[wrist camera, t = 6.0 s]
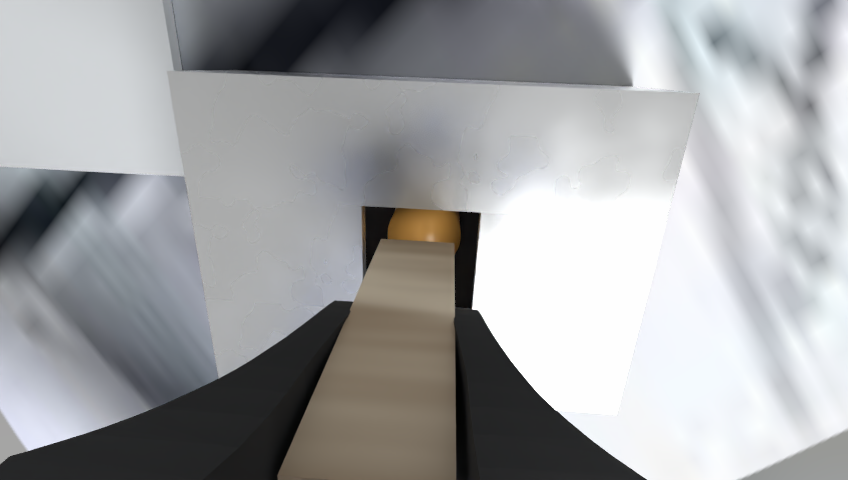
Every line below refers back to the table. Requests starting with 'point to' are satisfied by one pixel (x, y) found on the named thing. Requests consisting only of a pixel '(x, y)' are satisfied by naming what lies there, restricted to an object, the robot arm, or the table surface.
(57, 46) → the pad
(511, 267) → the guard box
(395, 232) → the button
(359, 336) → the long tan rectangular block
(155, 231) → the table surface
